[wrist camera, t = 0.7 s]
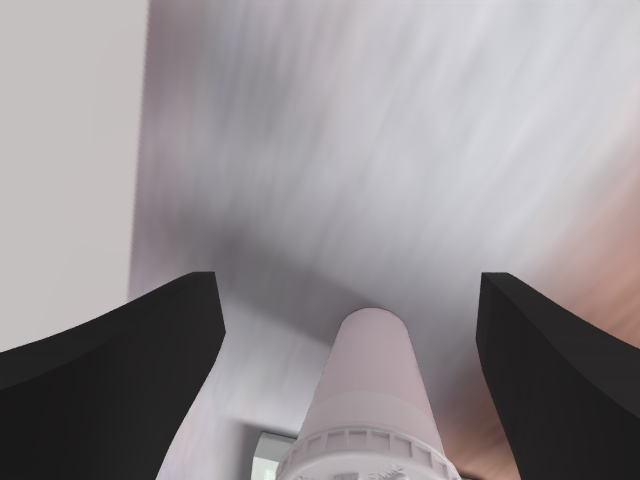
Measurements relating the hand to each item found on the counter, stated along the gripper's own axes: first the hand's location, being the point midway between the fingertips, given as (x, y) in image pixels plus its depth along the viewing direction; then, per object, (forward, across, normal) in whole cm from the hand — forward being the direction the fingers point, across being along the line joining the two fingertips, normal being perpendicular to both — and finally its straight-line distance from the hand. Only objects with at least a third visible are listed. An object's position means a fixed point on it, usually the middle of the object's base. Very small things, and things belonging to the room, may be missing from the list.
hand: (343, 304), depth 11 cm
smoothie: (+9, 0, +7) cm, 12 cm away
